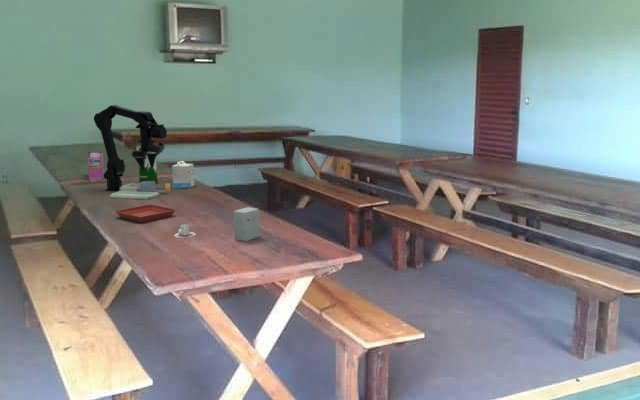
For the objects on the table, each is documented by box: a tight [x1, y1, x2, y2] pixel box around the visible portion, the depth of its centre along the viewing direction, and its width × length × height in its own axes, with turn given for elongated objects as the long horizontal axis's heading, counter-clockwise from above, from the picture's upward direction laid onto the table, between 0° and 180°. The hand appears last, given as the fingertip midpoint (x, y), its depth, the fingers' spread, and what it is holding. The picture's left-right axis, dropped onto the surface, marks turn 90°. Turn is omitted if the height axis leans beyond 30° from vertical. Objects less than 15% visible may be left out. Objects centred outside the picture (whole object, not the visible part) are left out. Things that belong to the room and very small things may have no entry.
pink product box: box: [86, 151, 105, 181], centre depth 362 cm, size 24×8×14 cm, turn 18°
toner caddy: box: [138, 181, 172, 194], centre depth 318 cm, size 15×5×5 cm, turn 77°
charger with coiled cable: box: [173, 223, 197, 239], centre depth 236 cm, size 9×8×4 cm
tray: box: [108, 190, 160, 201], centre depth 307 cm, size 21×10×2 cm, turn 77°
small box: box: [233, 206, 261, 242], centre depth 230 cm, size 8×6×10 cm
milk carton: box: [138, 156, 159, 185], centre depth 340 cm, size 9×9×20 cm
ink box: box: [171, 160, 195, 189], centre depth 331 cm, size 9×8×13 cm
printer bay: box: [119, 183, 140, 192], centre depth 321 cm, size 9×10×3 cm
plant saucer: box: [114, 204, 177, 223], centre depth 265 cm, size 18×18×3 cm
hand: (147, 168), depth 317 cm, fingers open, 9 cm apart
